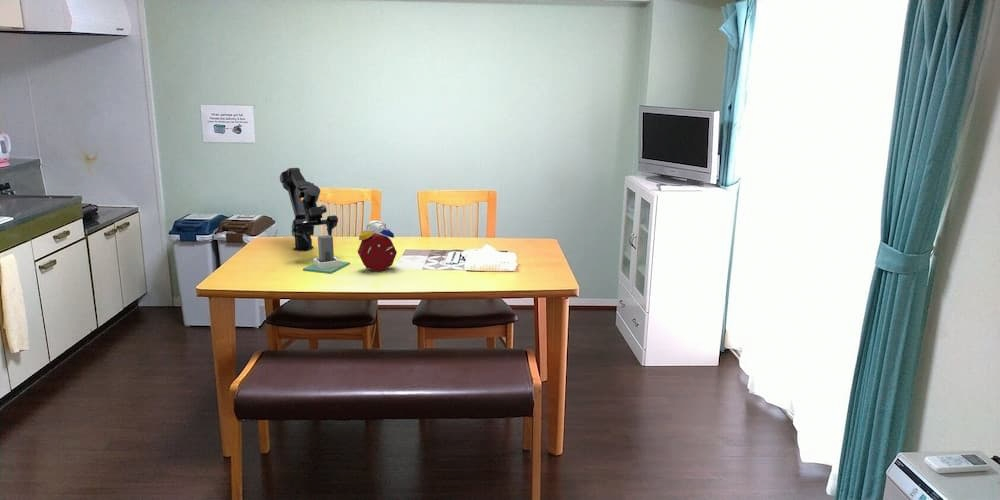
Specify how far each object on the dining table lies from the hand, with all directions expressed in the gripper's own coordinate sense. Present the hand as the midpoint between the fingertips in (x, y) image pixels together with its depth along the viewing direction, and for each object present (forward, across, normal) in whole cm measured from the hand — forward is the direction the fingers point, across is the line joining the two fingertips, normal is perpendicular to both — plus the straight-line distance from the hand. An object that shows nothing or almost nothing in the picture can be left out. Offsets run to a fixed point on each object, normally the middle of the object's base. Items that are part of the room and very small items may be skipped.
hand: (319, 240), depth 302 cm
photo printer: (-2, +30, +17) cm, 35 cm away
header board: (+13, 0, +1) cm, 13 cm away
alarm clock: (+23, +17, -9) cm, 30 cm away
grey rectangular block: (+12, 0, 0) cm, 12 cm away
